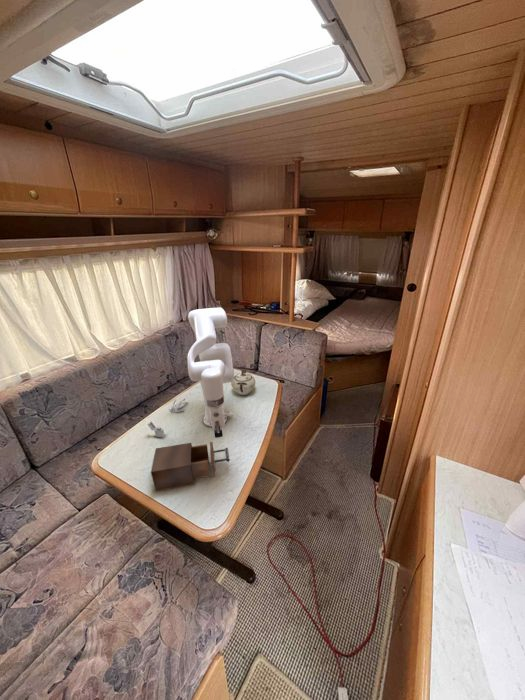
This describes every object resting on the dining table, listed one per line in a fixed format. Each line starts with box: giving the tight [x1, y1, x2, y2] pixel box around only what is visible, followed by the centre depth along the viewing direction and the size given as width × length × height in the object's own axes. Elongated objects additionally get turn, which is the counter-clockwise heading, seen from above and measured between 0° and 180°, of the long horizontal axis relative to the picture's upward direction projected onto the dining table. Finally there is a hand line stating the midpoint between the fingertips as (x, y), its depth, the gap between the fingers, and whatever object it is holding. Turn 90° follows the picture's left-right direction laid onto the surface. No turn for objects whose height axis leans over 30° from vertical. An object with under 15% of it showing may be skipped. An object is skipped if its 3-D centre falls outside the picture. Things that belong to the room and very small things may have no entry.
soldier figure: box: [168, 398, 189, 413], centre depth 156 cm, size 8×5×12 cm
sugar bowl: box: [230, 369, 256, 396], centre depth 169 cm, size 20×15×15 cm
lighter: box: [147, 421, 166, 439], centre depth 135 cm, size 7×2×8 cm, turn 79°
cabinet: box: [150, 442, 195, 492], centre depth 112 cm, size 15×13×10 cm
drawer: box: [191, 441, 230, 480], centre depth 114 cm, size 20×11×8 cm, turn 102°
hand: (218, 436), depth 113 cm, fingers closed
